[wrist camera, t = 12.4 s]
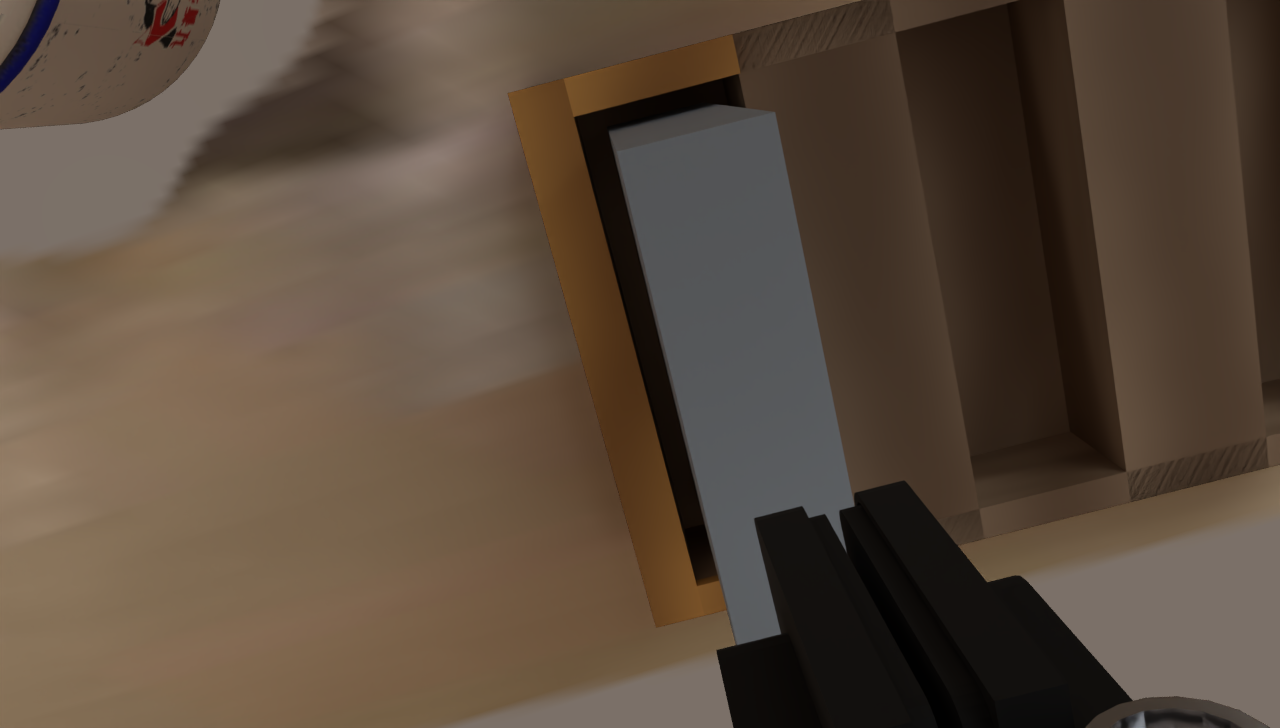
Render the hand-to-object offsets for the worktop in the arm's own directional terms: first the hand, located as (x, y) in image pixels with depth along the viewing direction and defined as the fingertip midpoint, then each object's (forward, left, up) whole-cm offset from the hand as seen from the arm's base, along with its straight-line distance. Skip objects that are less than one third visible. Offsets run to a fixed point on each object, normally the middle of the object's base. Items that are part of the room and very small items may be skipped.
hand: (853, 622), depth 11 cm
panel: (0, 0, -16) cm, 16 cm away
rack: (-4, +6, -17) cm, 18 cm away
